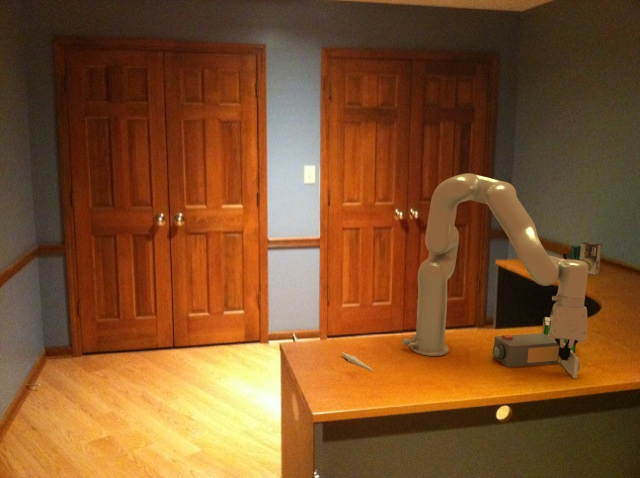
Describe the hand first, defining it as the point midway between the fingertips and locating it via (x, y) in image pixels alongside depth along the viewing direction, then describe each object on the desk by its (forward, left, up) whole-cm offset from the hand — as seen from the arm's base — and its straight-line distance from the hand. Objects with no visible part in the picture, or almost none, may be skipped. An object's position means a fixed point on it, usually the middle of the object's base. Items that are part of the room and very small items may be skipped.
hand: (563, 358), depth 175 cm
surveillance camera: (+107, +135, -5) cm, 172 cm away
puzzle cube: (+11, +17, -5) cm, 21 cm away
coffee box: (+104, +116, -5) cm, 156 cm away
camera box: (-5, +12, -5) cm, 13 cm away
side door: (+3, +1, -5) cm, 6 cm away
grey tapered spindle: (-60, +19, -5) cm, 63 cm away
